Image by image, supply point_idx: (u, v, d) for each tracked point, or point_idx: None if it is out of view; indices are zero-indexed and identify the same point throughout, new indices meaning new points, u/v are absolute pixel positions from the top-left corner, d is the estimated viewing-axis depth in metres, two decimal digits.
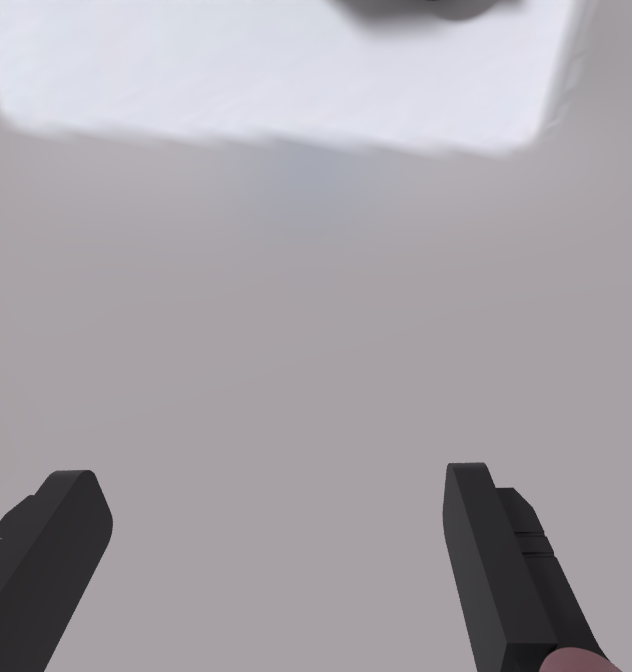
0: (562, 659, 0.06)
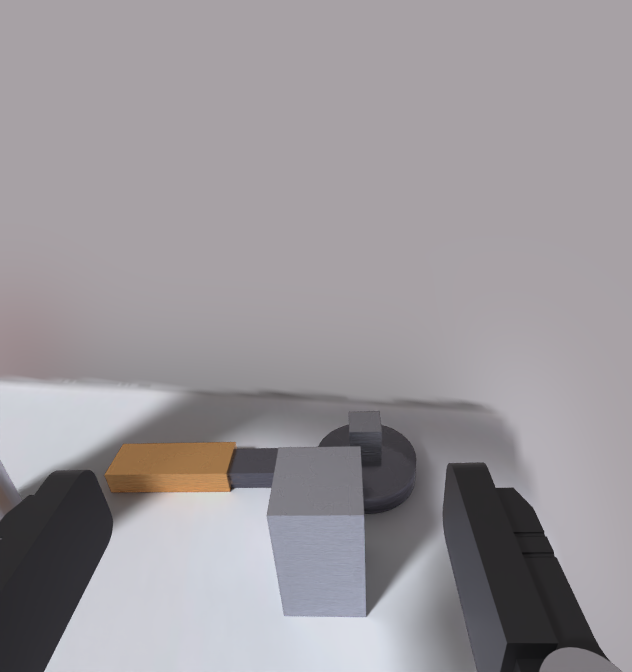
0: (562, 659, 0.06)
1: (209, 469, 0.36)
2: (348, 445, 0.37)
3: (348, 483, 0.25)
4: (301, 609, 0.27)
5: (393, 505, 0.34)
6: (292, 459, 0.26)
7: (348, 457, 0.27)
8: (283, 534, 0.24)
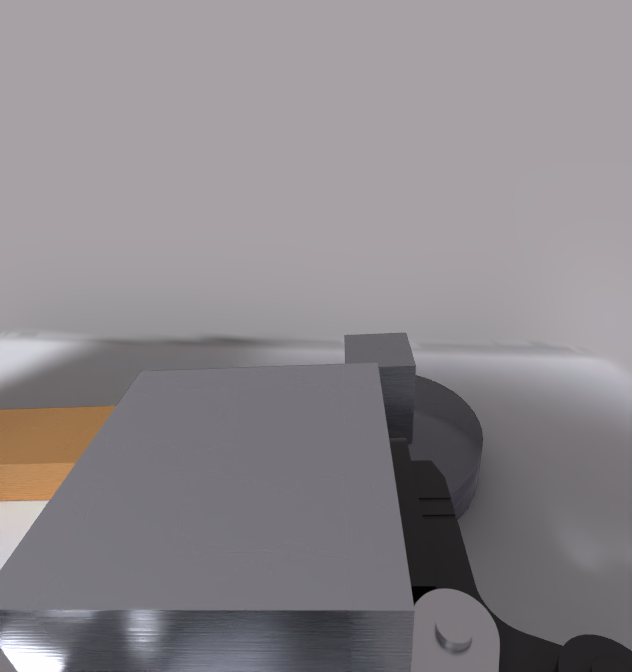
0: (436, 597, 0.07)
1: (65, 454, 0.18)
2: None
3: (341, 467, 0.07)
4: None
5: None
6: (167, 399, 0.09)
7: (343, 390, 0.09)
8: None
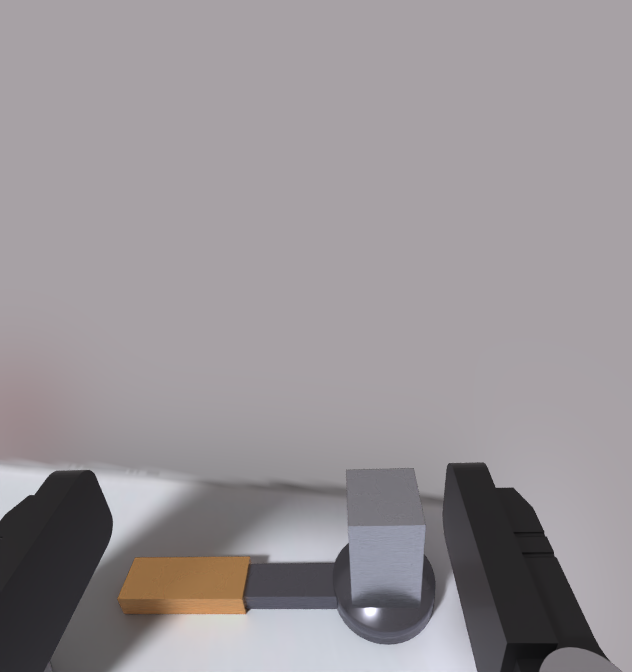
0: (562, 659, 0.06)
1: (224, 593, 0.35)
2: None
3: (409, 499, 0.31)
4: (367, 602, 0.33)
5: (413, 635, 0.33)
6: (359, 480, 0.33)
7: (405, 477, 0.33)
8: (359, 541, 0.30)
